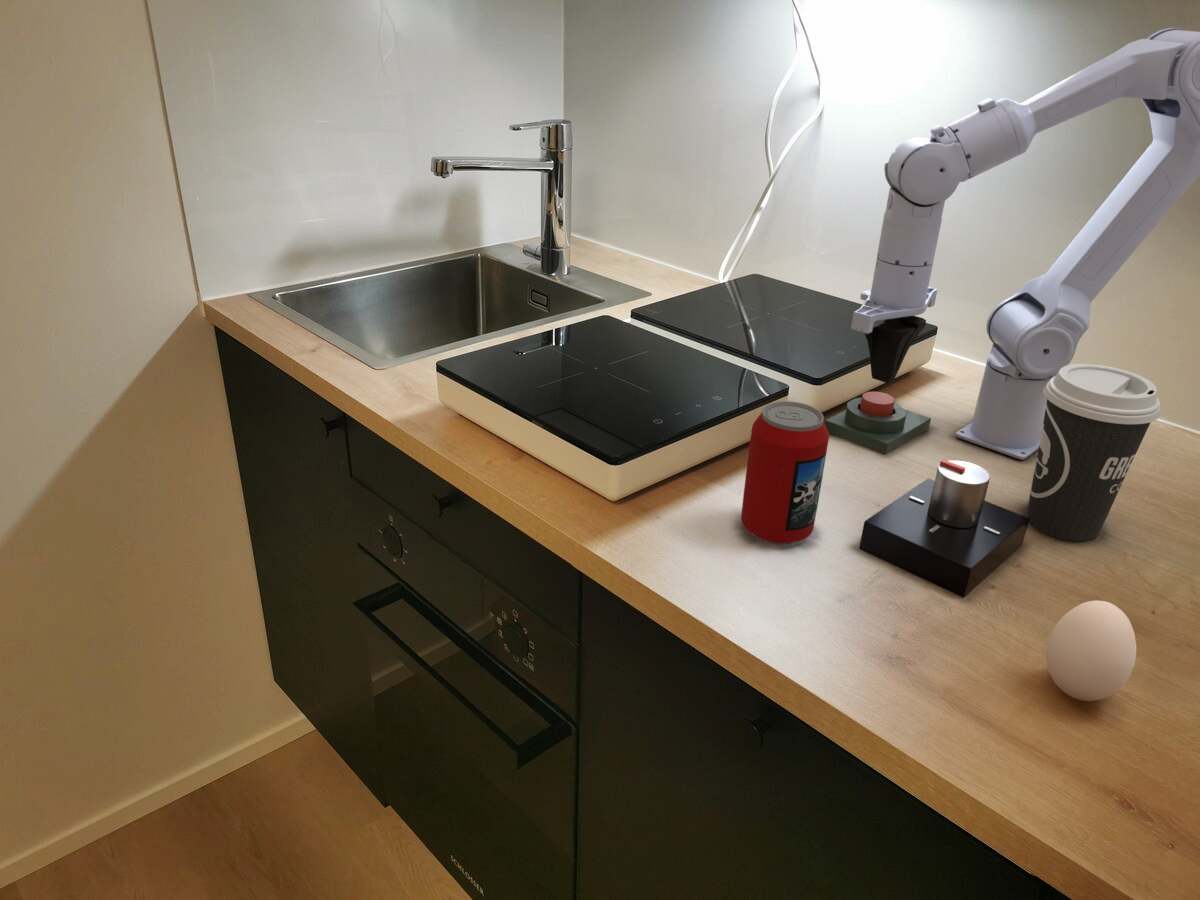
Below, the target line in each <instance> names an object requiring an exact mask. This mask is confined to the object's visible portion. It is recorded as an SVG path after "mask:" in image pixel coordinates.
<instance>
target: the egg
mask: <svg viewBox="0 0 1200 900" xmlns="http://www.w3.org/2000/svg"><path fill="white" fill-rule="evenodd" d="M1045 649H1046V650H1045V652H1046V653H1045V660H1046V666H1047V670H1048V672H1049V675H1050V676H1051V678H1052V680H1053V682H1054V684H1055V685H1056V686H1057V687H1058V688H1059V689H1060V690H1061V691H1062V692H1063V693H1065V694H1066V695H1067V696H1069V697H1070V698H1073V699H1076V700H1078V701H1084V702H1085V701H1086V702H1094V701H1098V700H1104V699H1107V698H1108V697H1110V696H1112V695H1114V694H1116V693H1117V692H1118V691H1120V689H1122V688H1123V687H1124V686H1125V685H1126V684H1127V682H1128V680H1129V678H1130V677H1131V675H1132V673H1133V671H1134V668H1135V664H1136V659H1137V641H1136V635H1135V631H1134V628H1133V625H1132V622H1131V621H1130V618H1129V617H1128V615H1126V613H1125V612H1124V611H1123V610H1122V609H1121V608H1119V607H1118V606H1117V605H1115V604H1113V603H1111V602H1109V601H1106V600H1105V601H1104V600H1097V599H1096V600H1089V601H1086V602H1082V603H1080V604H1078V605H1077V606H1075V607H1073V608H1072V609H1070V610H1068V611H1067V612H1066V613H1065V614H1064V615H1063V616H1062V617H1061V618H1060V619H1059V620H1058V621H1057V623H1056V624H1055V626H1054V627H1053V629H1052V630H1051V633H1050V635H1049V637H1048V640H1047V645H1046V648H1045Z"/></svg>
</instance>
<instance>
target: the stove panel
mask: <svg viewBox="0 0 1200 900" xmlns="http://www.w3.org/2000/svg"><path fill="white" fill-rule="evenodd" d="M934 482H935V479H934V480H933V479H931V478H927V479H925V480H924V481H922V482H921V483H919V484H918V485H916V486H914V488H912V489H910V490H909V491H907V492H905V493H904V494H903V495H901V496H900V497H898V498H897V499H896V500H894V501H892V502H891V503H889V504H888V505H887V506H884V507H883V508H882V509H880V510H878V511H877V512H876V513H875V514H873V515H871V516H870V517H868V518H867V519H865V520H864V521H863V526H862V531H861V535H860V536H861V537H860V542H859V546H858V550H860V551H862V552H865V553H867V554H868V555H870V556H873V557H875V558H877V559H879V560H880V561H881V560H882V561H884V562H886V563H887V564H890V565H892V566H894V567H896V568H899V569H900V570H903V571H905V572H907V573H909V574H912V575H914V576H916V577H918V578H920V579H921V580H923V581H927V582H929V583H931V584H933V585H935V586H936V587H939V588H941V589H943V590H946V591H947V592H950V593H952V594H954V595H956V596H958V597H961V598H963V599H964V598H965V597H967V596H968V594H970V593H971V592H972V591H973V590H975V588H976V587H977V586H979V585H980V584H981V583H982V582H983V581H984V580H985V579H987V577H989V576H990V575H991V574H992V573H993V572H994V571H995V570H997V569H998V567H1000V566H1001V565H1002V564H1003V563H1004V562H1005V561H1007V560H1008V559H1009V558H1010V557H1012V555H1013V554H1015V552H1016V551H1018V550H1019V549H1020V548H1021V547H1023V544H1024V542H1025V541H1024V540H1025V537H1026V533H1027V530H1028V527H1029V524H1030V522H1029V520H1030V518H1028V517H1027V516H1025V515H1022V514H1020V513H1018V512H1015V511H1012V510H1011V509H1008V508H1005V507H1002V506H1001V505H1000V506H999V505H997V504H995V503H992V502H990V501H987V500H985V499H984V503H983V507H982V511H981V515H980V518H979V522H978V523H977V524H976V525H975V526H973V527H969V528H957V527H951V526H948V525H944V524H942V523H940V522H938V521H936V520H935V519H933V518H932V517H931V516H930V515H929V512H928V508H929V503H930V499H931V495H932V490H933V486H934Z"/></svg>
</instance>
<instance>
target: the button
mask: <svg viewBox="0 0 1200 900" xmlns="http://www.w3.org/2000/svg"><path fill="white" fill-rule="evenodd" d="M861 398H862V400H861V405H860V411H862V412H863V413H866V414H868V415H871V416H878V417H887V416H891V415H892V413H893V408H894V403H896V399H895V398H894V396H892V395H891V394H888V393H885V392H881V391H867V392H864V393H863V394H862V395H861Z"/></svg>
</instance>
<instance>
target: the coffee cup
mask: <svg viewBox="0 0 1200 900" xmlns="http://www.w3.org/2000/svg"><path fill="white" fill-rule="evenodd" d="M1043 393H1044V395H1045V397H1046V398H1047V403H1046V409H1045V415H1044V421H1043V426H1042V432H1041V437H1040V443H1039V448H1038V450H1037V454H1036V460H1035V464H1034V471H1033V477H1032V481H1031V487H1030V492H1029V498H1028V504H1027V509H1026V516H1025V517H1028V518H1030V520H1029V524H1030V525H1031V526H1032V527H1034V528H1035V529H1037V530H1038V531H1040V532H1042V533H1043V534H1046V535H1048V536H1049V537H1053V538H1056V539H1060V540H1063V541H1070V542H1088V541H1092V540H1094V539H1096V538H1097V537H1099V535H1100V533H1101V531H1102V529H1103V526H1104V524H1105V522H1106V520H1107V517H1108V515H1109V513H1110V511H1111V509H1112V507H1113V504H1114V502H1115V500H1116V498H1117V496H1118V494H1119V492H1120V489H1121V487H1122V485H1123V483H1124V482H1125V481H1124V480H1125V479H1126V476H1127V475H1128V472H1129V470H1130V468H1131V466H1132V463H1133V462H1134V459H1135V457H1136V455H1137V452H1138V451H1139V448H1140V446H1141V444H1142V442H1143V440H1144V437H1145V436H1146V433H1147V432H1148V430H1149V427H1150V425H1151V423H1153V422H1155V421H1157V420H1158V419H1159V418H1160V417H1161V414H1162V413H1161V412H1162V411H1161V409H1162V406H1161V401H1160V399H1159V398H1158V388H1157V386H1156V385H1155V384H1154V383H1153V382H1152V381H1151V380H1149V379H1148V378H1146V377H1143V376H1141V375H1140V374H1138V373H1135V372H1131V371H1129V370H1126V369H1123V368H1122V369H1121V368H1118V367H1114V366H1108V365H1103V364H1094V363H1073V364H1068V365H1067V366H1064V367H1062V368H1061V369H1060V370H1059V372H1058V373H1057V375H1056V376H1054V377H1053V378H1051V379H1050V381H1049V382H1048V383H1047V385H1046V386H1045V388H1044V390H1043Z"/></svg>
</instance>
